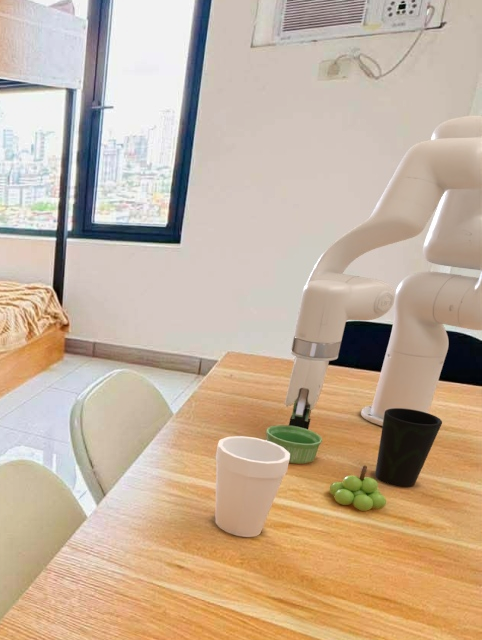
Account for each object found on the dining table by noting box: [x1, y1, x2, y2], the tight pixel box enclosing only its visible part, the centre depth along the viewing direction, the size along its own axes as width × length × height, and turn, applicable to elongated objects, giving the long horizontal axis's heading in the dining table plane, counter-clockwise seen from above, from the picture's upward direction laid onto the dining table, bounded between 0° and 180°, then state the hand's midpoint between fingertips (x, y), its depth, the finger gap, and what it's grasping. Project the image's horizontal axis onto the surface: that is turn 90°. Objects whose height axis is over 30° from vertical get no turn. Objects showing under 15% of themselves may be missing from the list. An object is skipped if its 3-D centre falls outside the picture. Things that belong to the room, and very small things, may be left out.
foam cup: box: [214, 435, 290, 538], centre depth 94 cm, size 10×9×13 cm
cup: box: [374, 408, 443, 488], centre depth 108 cm, size 8×8×12 cm
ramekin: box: [265, 424, 323, 465], centre depth 119 cm, size 9×9×4 cm
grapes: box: [329, 464, 387, 512], centre depth 102 cm, size 8×7×7 cm
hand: (296, 436), depth 124 cm, fingers closed
